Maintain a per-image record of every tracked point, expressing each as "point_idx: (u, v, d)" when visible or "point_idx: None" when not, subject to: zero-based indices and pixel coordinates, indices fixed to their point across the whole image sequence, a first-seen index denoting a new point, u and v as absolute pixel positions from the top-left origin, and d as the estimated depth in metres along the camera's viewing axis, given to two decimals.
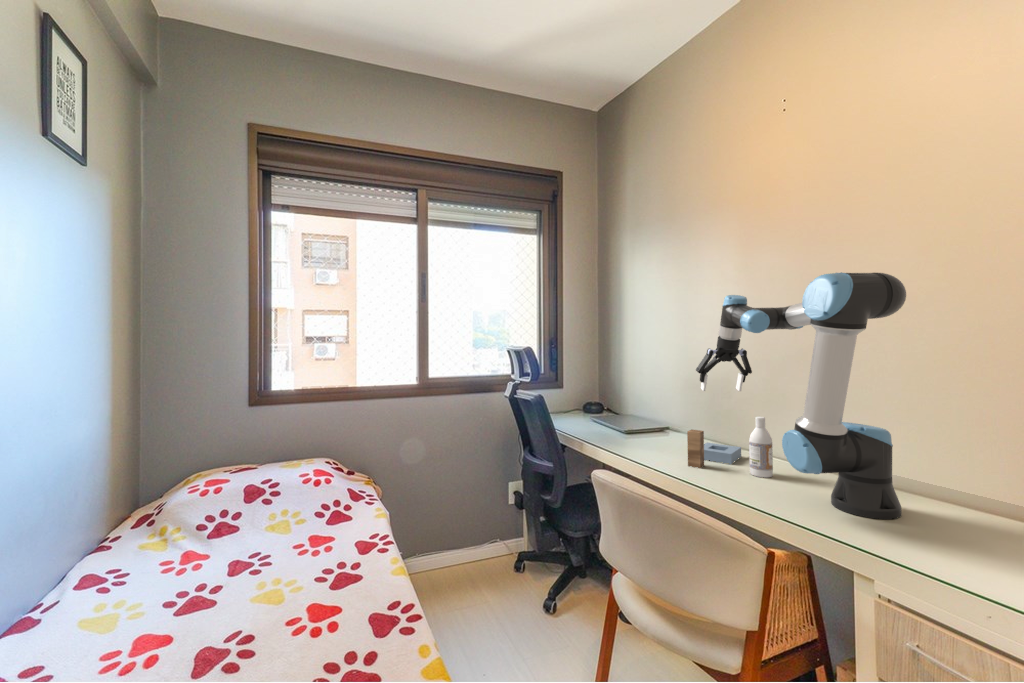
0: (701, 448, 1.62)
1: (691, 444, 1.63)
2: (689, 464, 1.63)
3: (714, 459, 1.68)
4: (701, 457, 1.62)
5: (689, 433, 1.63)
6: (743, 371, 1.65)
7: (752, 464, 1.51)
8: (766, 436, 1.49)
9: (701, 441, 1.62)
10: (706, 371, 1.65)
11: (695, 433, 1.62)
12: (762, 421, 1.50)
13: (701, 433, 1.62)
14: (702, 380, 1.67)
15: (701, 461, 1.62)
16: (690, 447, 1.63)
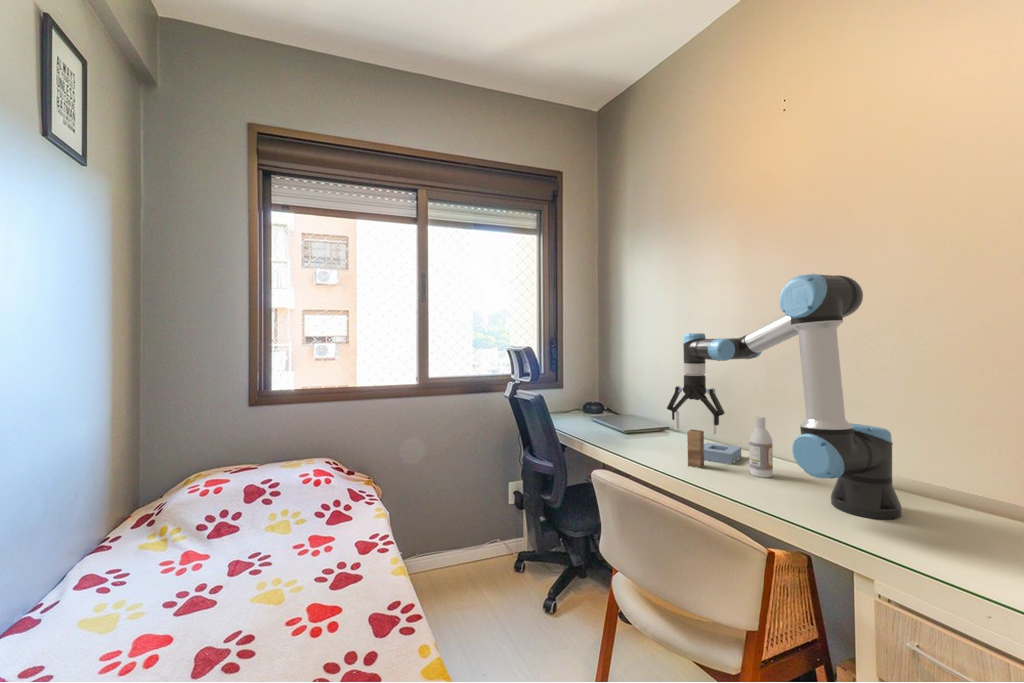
0: (701, 448, 1.62)
1: (691, 444, 1.63)
2: (689, 464, 1.63)
3: (714, 459, 1.68)
4: (701, 457, 1.62)
5: (689, 433, 1.63)
6: (712, 412, 1.58)
7: (752, 464, 1.51)
8: (766, 436, 1.49)
9: (701, 441, 1.62)
10: (674, 408, 1.68)
11: (695, 433, 1.62)
12: (762, 421, 1.50)
13: (701, 433, 1.62)
14: (673, 417, 1.69)
15: (701, 461, 1.62)
16: (690, 447, 1.63)
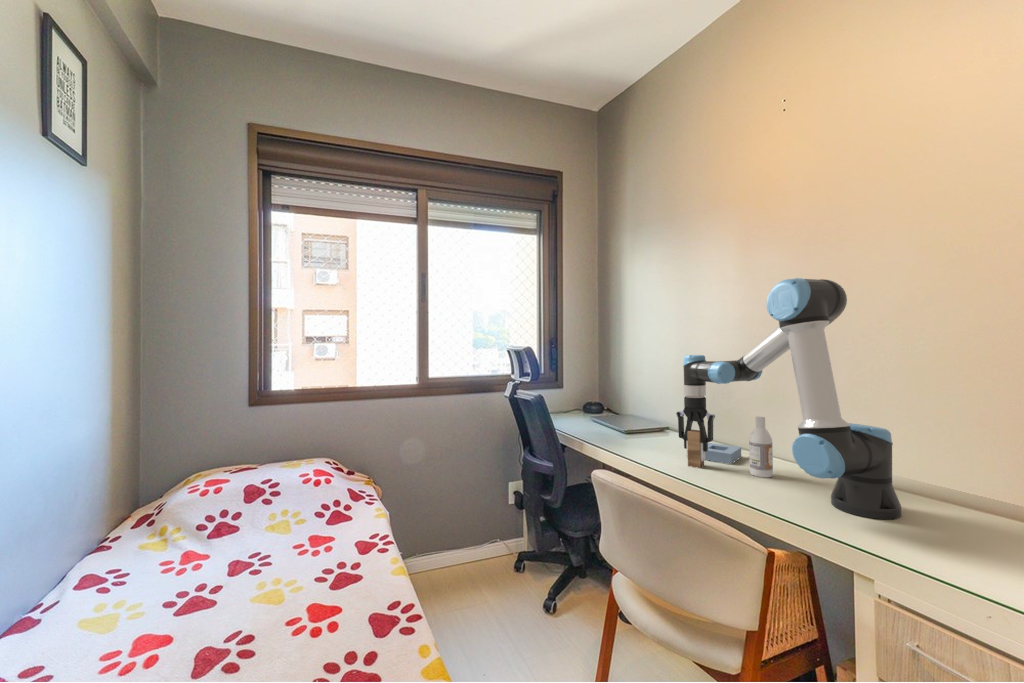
0: None
1: (691, 444, 1.63)
2: (689, 464, 1.63)
3: (714, 459, 1.68)
4: None
5: (689, 433, 1.63)
6: (703, 438, 1.61)
7: (752, 464, 1.51)
8: (766, 436, 1.49)
9: (701, 441, 1.62)
10: (685, 436, 1.65)
11: (695, 433, 1.62)
12: (762, 421, 1.50)
13: None
14: (685, 446, 1.66)
15: (701, 461, 1.62)
16: (690, 446, 1.63)
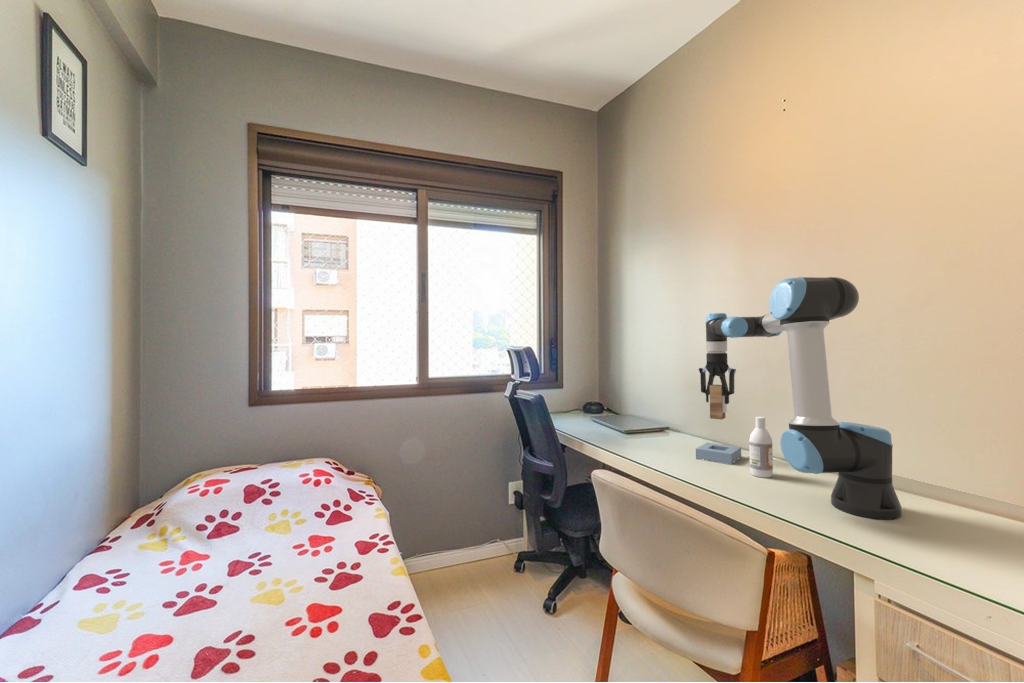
0: None
1: (713, 397, 1.72)
2: (711, 416, 1.73)
3: (714, 459, 1.68)
4: None
5: (711, 387, 1.73)
6: (724, 391, 1.70)
7: (752, 464, 1.51)
8: (766, 436, 1.49)
9: (722, 395, 1.72)
10: (707, 390, 1.75)
11: (717, 387, 1.71)
12: (762, 421, 1.50)
13: None
14: (707, 400, 1.75)
15: (723, 413, 1.72)
16: (712, 400, 1.73)
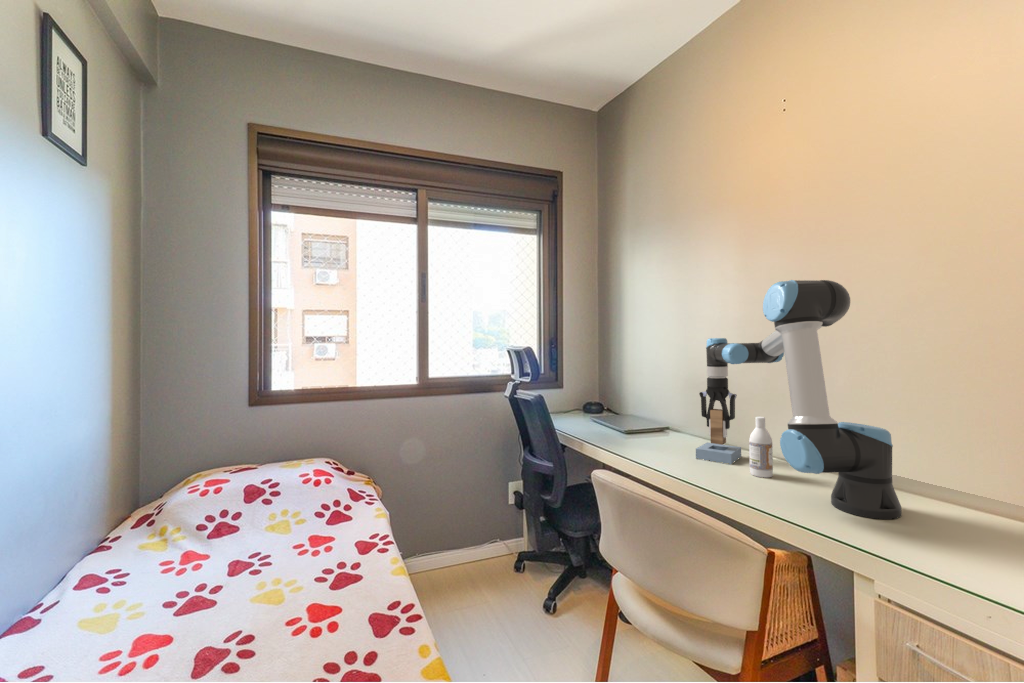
0: None
1: (713, 422, 1.72)
2: (712, 441, 1.73)
3: (714, 459, 1.68)
4: None
5: (712, 412, 1.73)
6: (725, 416, 1.71)
7: (752, 464, 1.51)
8: (766, 436, 1.49)
9: (723, 419, 1.72)
10: (708, 414, 1.75)
11: (718, 411, 1.71)
12: (762, 421, 1.50)
13: None
14: (708, 424, 1.75)
15: (723, 438, 1.72)
16: (713, 424, 1.73)
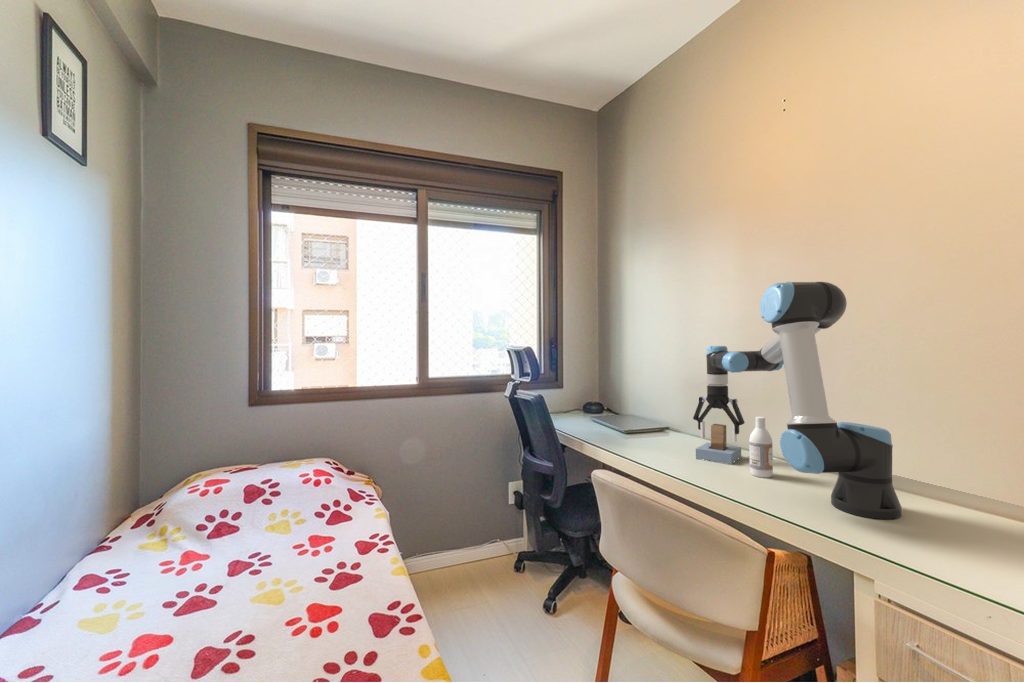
0: (723, 441, 1.71)
1: (714, 437, 1.72)
2: None
3: (714, 459, 1.68)
4: (724, 450, 1.72)
5: (713, 427, 1.73)
6: (733, 421, 1.69)
7: (752, 464, 1.51)
8: (766, 436, 1.49)
9: (724, 435, 1.72)
10: (700, 418, 1.77)
11: (718, 427, 1.71)
12: (762, 421, 1.50)
13: (724, 427, 1.72)
14: (699, 427, 1.78)
15: None
16: (713, 440, 1.73)
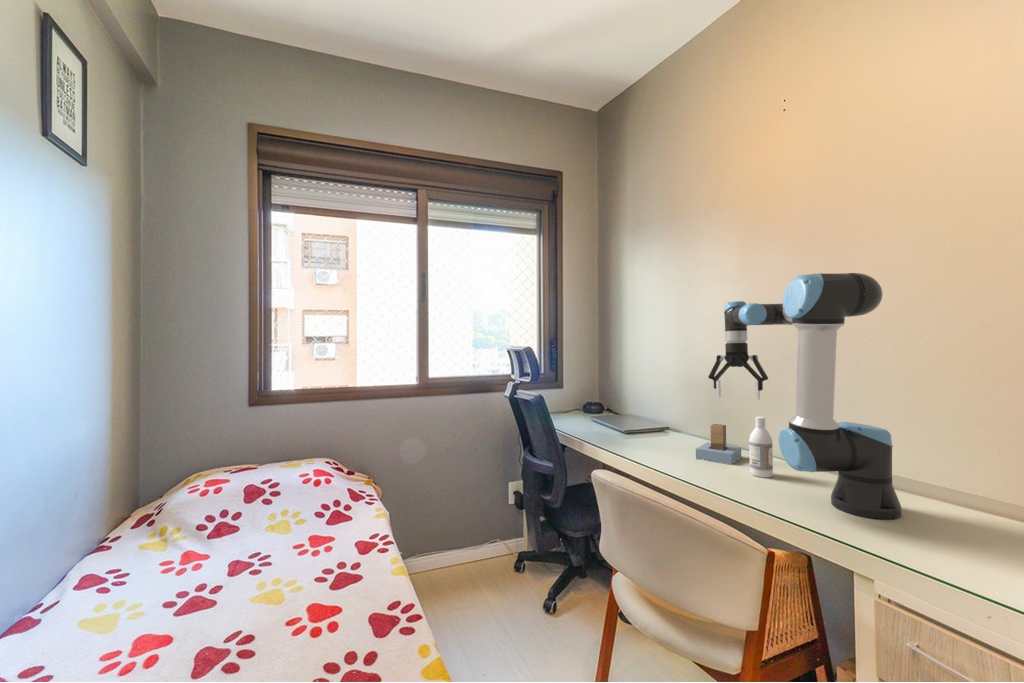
0: (723, 441, 1.71)
1: (714, 437, 1.72)
2: None
3: (714, 459, 1.68)
4: (724, 450, 1.72)
5: (712, 427, 1.73)
6: (756, 377, 1.61)
7: (752, 464, 1.51)
8: (766, 436, 1.49)
9: (723, 435, 1.72)
10: (716, 376, 1.70)
11: (718, 427, 1.71)
12: (762, 421, 1.50)
13: (724, 427, 1.72)
14: (715, 386, 1.71)
15: None
16: (713, 440, 1.73)
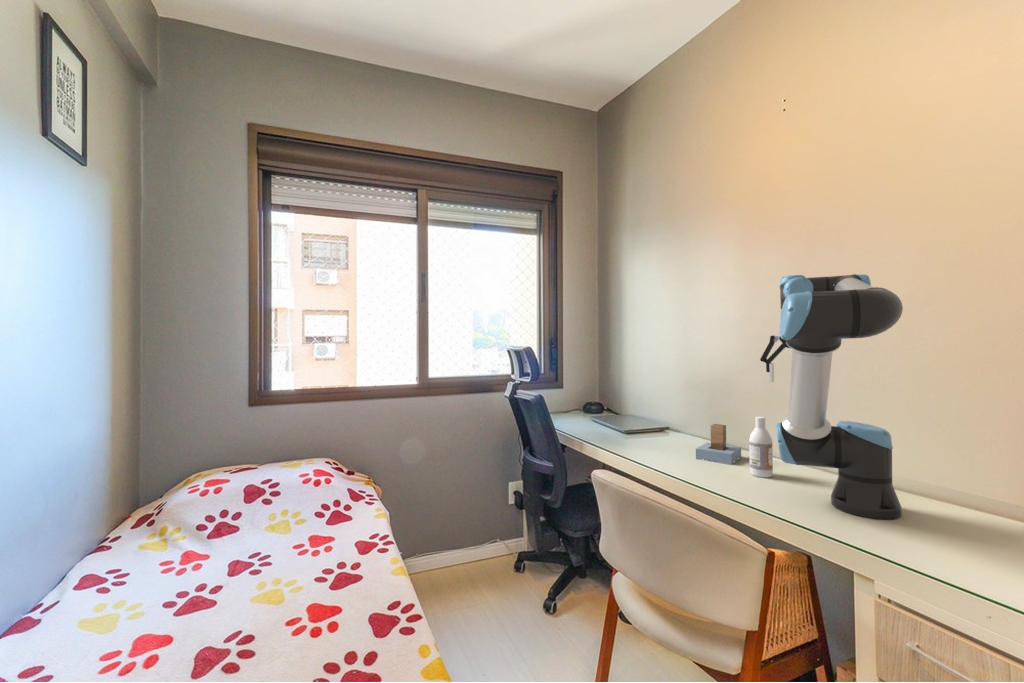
0: (723, 441, 1.71)
1: (714, 437, 1.72)
2: None
3: (714, 459, 1.68)
4: (724, 450, 1.72)
5: (712, 427, 1.73)
6: None
7: (752, 464, 1.51)
8: (766, 436, 1.49)
9: (723, 435, 1.72)
10: (769, 359, 1.55)
11: (718, 427, 1.71)
12: (762, 421, 1.50)
13: (724, 427, 1.72)
14: (767, 370, 1.55)
15: None
16: (713, 440, 1.73)
